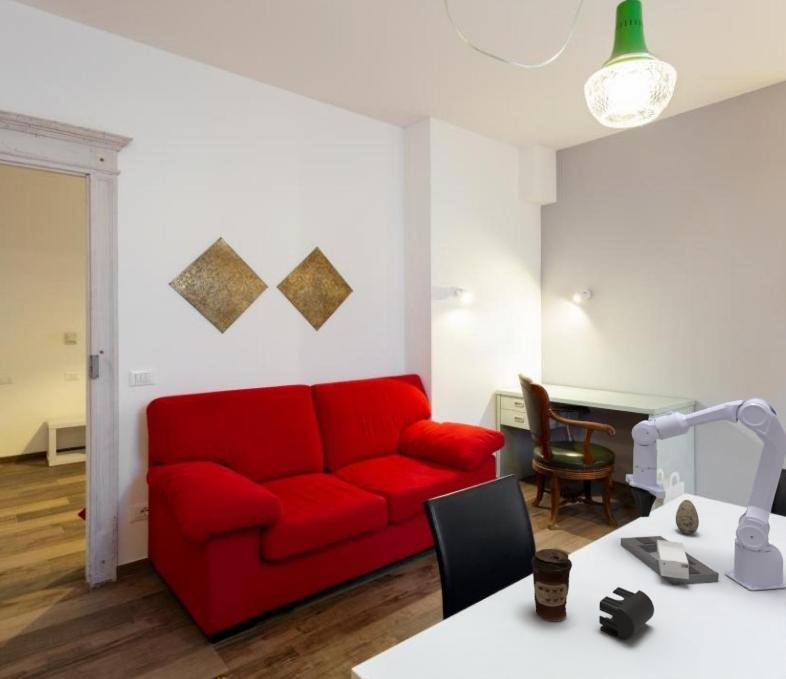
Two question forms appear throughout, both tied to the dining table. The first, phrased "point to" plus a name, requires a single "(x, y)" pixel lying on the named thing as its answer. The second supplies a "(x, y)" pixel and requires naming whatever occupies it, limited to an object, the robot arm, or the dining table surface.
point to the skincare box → (672, 559)
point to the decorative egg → (687, 517)
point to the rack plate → (649, 544)
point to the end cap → (625, 613)
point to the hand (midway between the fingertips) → (644, 516)
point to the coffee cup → (551, 583)
